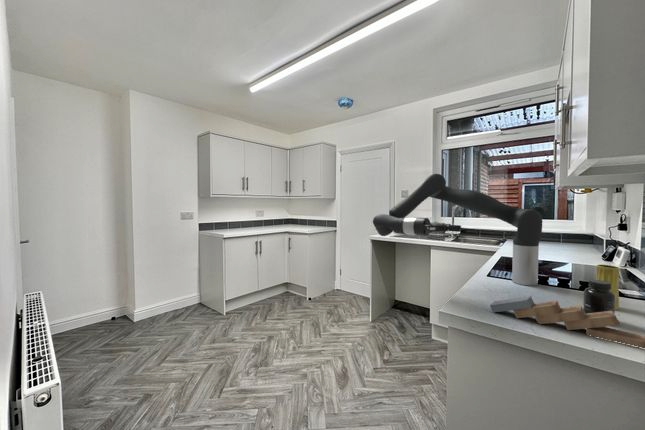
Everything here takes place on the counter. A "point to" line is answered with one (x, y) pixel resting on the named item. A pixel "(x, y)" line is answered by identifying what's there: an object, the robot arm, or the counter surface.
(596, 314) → the domino
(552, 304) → the domino
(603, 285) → the supplement bottle
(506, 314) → the counter surface
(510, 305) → the domino
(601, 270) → the vase
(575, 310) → the domino
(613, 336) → the domino
